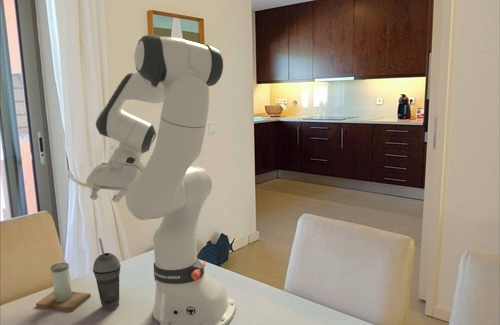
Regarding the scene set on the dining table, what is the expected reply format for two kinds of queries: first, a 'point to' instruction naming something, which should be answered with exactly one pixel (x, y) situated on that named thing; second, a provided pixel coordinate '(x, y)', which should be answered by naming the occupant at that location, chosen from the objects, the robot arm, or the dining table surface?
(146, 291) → the dining table surface
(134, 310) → the dining table surface
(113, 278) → the beverage cup
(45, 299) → the walnut board
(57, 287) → the sage tube
